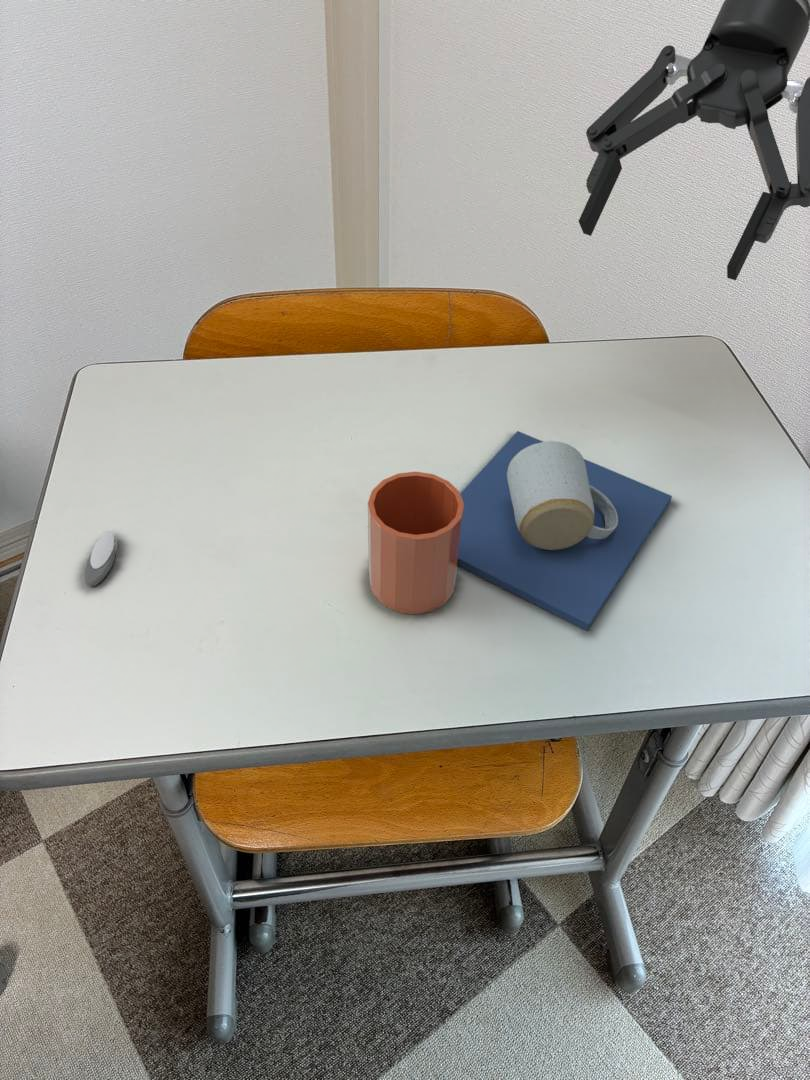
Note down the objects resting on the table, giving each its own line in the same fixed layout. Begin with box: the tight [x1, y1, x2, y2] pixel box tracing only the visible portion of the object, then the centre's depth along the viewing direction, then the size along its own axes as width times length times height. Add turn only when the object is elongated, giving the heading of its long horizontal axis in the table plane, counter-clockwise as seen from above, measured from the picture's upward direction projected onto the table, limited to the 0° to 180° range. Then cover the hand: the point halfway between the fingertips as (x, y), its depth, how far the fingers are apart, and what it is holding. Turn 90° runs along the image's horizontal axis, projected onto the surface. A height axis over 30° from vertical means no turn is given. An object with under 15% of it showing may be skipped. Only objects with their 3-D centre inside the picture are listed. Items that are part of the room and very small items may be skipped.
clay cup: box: [367, 471, 464, 615], centre depth 71 cm, size 8×8×10 cm
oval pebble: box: [84, 530, 118, 587], centre depth 75 cm, size 6×2×1 cm, turn 174°
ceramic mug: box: [507, 440, 618, 550], centre depth 76 cm, size 11×8×8 cm
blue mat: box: [458, 430, 673, 631], centre depth 79 cm, size 18×20×1 cm
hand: (655, 250), depth 70 cm, fingers open, 13 cm apart
